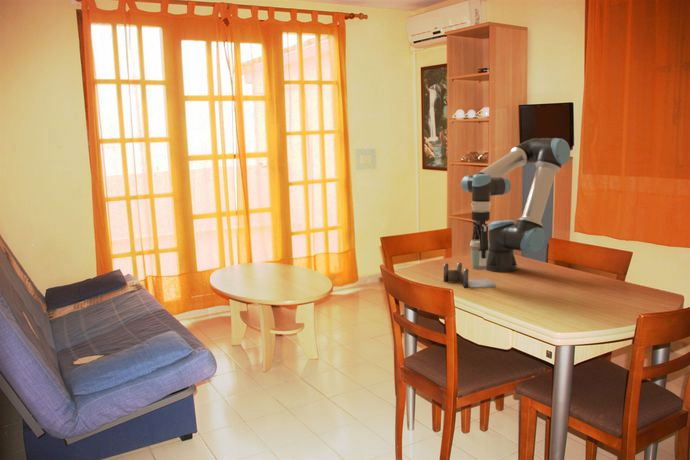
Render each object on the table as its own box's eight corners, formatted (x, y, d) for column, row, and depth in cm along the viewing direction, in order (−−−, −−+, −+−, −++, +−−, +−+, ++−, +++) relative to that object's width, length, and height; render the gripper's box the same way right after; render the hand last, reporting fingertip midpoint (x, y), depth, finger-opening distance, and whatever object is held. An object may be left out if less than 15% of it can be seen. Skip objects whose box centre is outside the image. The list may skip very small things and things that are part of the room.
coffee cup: (488, 266, 259) (488, 239, 257) (490, 270, 251) (491, 243, 249) (468, 266, 260) (468, 239, 258) (470, 270, 252) (470, 242, 250)
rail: (460, 280, 264) (461, 262, 263) (468, 288, 252) (469, 269, 250) (443, 280, 264) (443, 263, 263) (450, 288, 251) (450, 270, 250)
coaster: (488, 280, 263) (488, 279, 262) (495, 287, 252) (495, 286, 252) (463, 281, 262) (463, 280, 262) (470, 288, 251) (470, 286, 251)
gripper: (465, 207, 262) (464, 258, 265) (479, 214, 241) (477, 269, 244) (482, 207, 262) (481, 257, 266) (497, 214, 241) (495, 268, 245)
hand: (479, 263), depth 255 cm, fingers closed on coffee cup, 8 cm apart
